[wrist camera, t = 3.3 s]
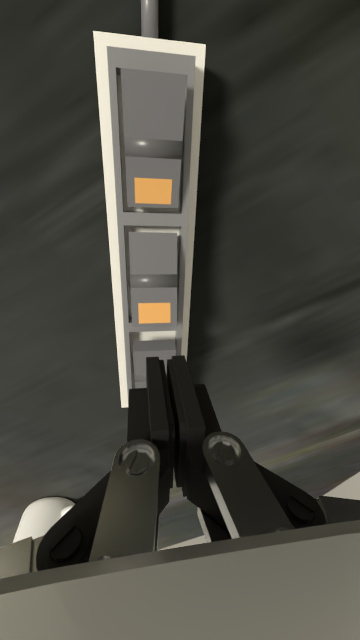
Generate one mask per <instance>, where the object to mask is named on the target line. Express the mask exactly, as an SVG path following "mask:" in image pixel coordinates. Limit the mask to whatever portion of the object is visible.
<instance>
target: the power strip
mask: <svg viewBox="0 0 360 640" xmlns="http://www.w3.org/2000/svg"><path fill="white" fill-rule="evenodd" d="M141 27H142V37H139V36H131V35H123V34H114V33H106V32H98V31H93V34H94V47H95V60H96V74H97V87H98V100H99V114H100V127H101V140H102V154H103V167H104V180H105V194H106V207H107V220H108V233H109V247H110V260H111V273H112V287H113V300H114V313H115V327H116V340H117V353H118V367H119V380H120V393H121V406H122V408H124V407H128V401H129V389H135V375H134V358H133V341H148V340H174V339H175V346H176V356H179V355H184V356H185V359H186V362H187V347H188V330H189V314H190V297H191V281H192V264H193V247H194V231H195V214H196V198H197V181H198V165H199V148H200V131H201V115H202V98H203V82H204V65H205V48H206V45H205V44H197V43H189V42H180V41H172V40H164V39H158V0H141ZM121 68H127V69H137V70H146V71H156V72H166V73H175V74H185V75H187V79H186V95H185V110H184V125H183V141H182V158H181V171H180V187H179V202H178V208H152V207H128V204H127V184H126V165H125V148H124V126H123V107H122V87H121ZM129 232H161V233H177V326H149V327H132V311H131V284H130V254H129Z"/></svg>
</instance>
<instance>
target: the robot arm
mask: <svg viewBox="0 0 360 640" xmlns="http://www.w3.org/2000/svg"><path fill="white" fill-rule="evenodd" d="M173 467H174V472H175V480H176V486H177V487H182V491H183V497H185V496H187V499H188V500H189V501H191V502H192V503H193V504H195V505H196V510H197V515H198V518H199V521H200V524H201V527H202V530H203V533H204V535H205V538H206V541H207V543H203V544H197V545H191V546H184V547H178V548H172V549H166V550H159V551H157V548H158V532H159V514H160V513H161V512H162V510H163V509H164V508H165V506H166V505H167V504H168V502H169V493H170V488H173ZM0 640H360V500H353V499H343V498H336V497H327V496H319V498H318V499H315V498H313V497H312V496H310V495H309V494H307V493H306V492H305V491H303V490H301V489H300V488H298V487H296V486H295V485H293V484H291V483H289V482H288V481H286V480H284V479H283V478H281V477H279V476H278V475H276V474H274V473H273V472H271V471H269V470H268V469H266V468H264V467H262V466H261V465H259V464H257V463H256V462H254V461H253V459H252V458H251V456H250V454H249V453H248V451H247V449H246V448H245V446H244V444H243V443H242V442H241V441H240V439H239V438H237V437H236V436H234V435H232V434H230V433H227V432H221V429H220V426H219V423H218V420H217V417H216V415H215V412H214V409H213V406H212V403H211V401H210V398H209V395H208V392H207V389H206V387H205V385H204V384H195V385H193V382H192V379H191V376H190V372H189V369H188V365H187V362H186V359H185V356H184V355H179V356H172V358H171V359H167V377H166V371H165V365H164V360H159V357H146V388H135V389H129V401H128V436H127V443H125V444H124V445H122V446H121V447H120V448H119V449H118V451H117V452H116V454H115V457H114V460H113V464H112V468H111V471H110V472H109V473H108V474H107V475H106V476H105V477H104V478H102V479H101V480H100V481H99V482H98V483H97V484H96V485H95V486H94V487H93V488H92V489H91V490H90V491H89V492H88V493H87V494H86V495H85V496H83V497H82V498H81V499H80V500H79V501H78V502H77V503H76V504H75V505H74V506H73V507H72V508H71V509H70V510H69V511H68V512H67V513H66V514H64V515H63V516H62V517H61V518H60V519H59V520H58V521H57V522H56V523H55V524H54V525H53V526H52V527H51V528H50V529H49V530H48V531H47V533H46V534H45V535H43V536H41V537H38V538H36V539H32V536H31V537H28V538H25V539H23V540H20V541H17V542H15V543H12V544H9V545H7V546H4V547H2V548H0Z"/></svg>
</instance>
